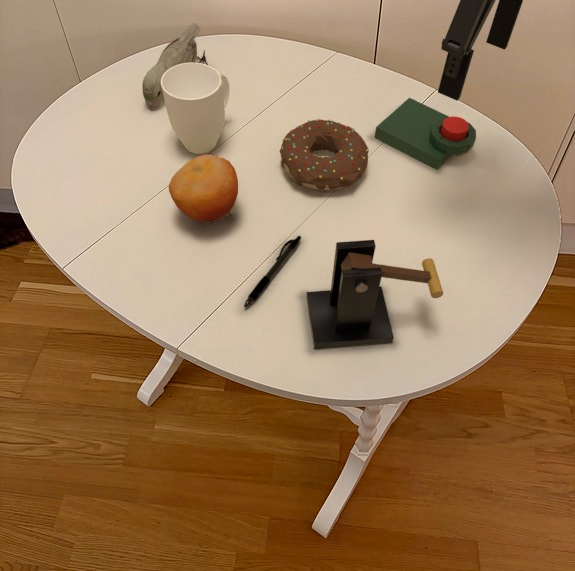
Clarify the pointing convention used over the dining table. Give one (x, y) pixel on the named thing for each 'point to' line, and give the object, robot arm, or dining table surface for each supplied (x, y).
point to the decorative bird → (171, 63)
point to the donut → (323, 170)
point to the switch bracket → (350, 304)
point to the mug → (196, 104)
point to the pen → (272, 270)
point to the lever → (398, 271)
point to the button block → (422, 134)
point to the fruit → (205, 188)
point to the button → (454, 128)
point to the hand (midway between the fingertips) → (473, 69)
